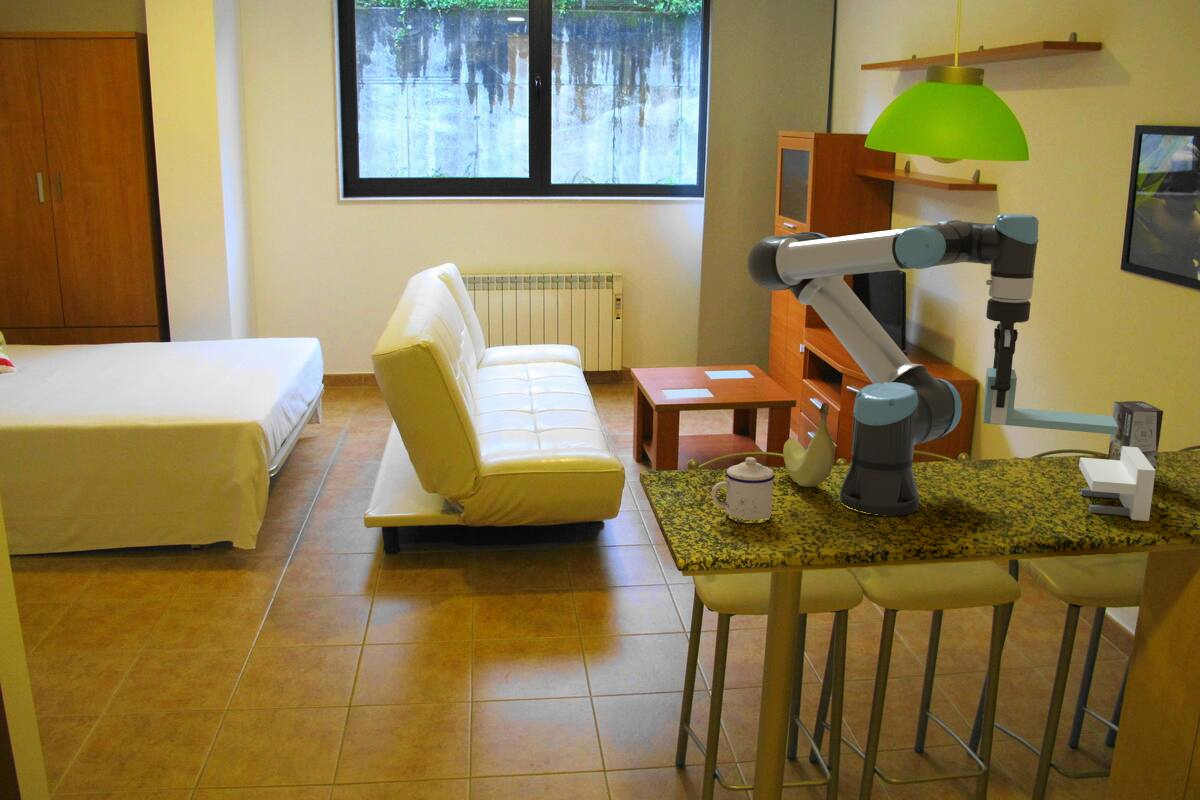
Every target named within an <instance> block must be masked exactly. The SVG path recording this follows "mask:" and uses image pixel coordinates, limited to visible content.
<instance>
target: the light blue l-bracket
mask: <svg viewBox="0 0 1200 800" xmlns="http://www.w3.org/2000/svg"><path fill="white" fill-rule="evenodd" d="M995 379H996V368H993V367H987V368H986V376H985V382H984V383H985V385H984V392H983V393H984V394H983V395H984V396H983V402H982V403H983V404H982V421H983V424H985V425H994V424H993V423H990V419H991V409H992V399H993V390H991V389H990V388H991V386H994V385H995ZM1017 379H1018V378H1017V373H1016V370H1015V369H1012V371H1011V381H1010V385H1011V388H1010V390H1009V397H1008V407H1007V416H1006V425H1004V424H997V425H1001V426H1010V427H1012V426H1013V427H1023V428H1034V429H1047V430H1057V431H1059V430H1060V431H1071V432H1081V433H1091V434H1093V433H1094V434H1105V435H1106V434H1107V435H1111V434H1115V435H1117V433H1118V425H1117V423H1116V422H1115V420H1114V418H1113V415H1108V414H1107V415H1106V414H1105V415H1103V414H1095V413H1092V414H1091V413H1079V412H1069V411H1055V410H1045V409H1031V408H1019V407H1015V398H1016V392H1017V391H1016V389H1017ZM1002 383H1006V382H1002Z"/></svg>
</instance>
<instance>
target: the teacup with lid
mask: <svg viewBox="0 0 1200 800" xmlns="http://www.w3.org/2000/svg"><path fill="white" fill-rule="evenodd" d="M725 476H726V481H720V482H717V483H716V484H714V486H713V487H712V489H711V497H712V501H713V503H715V505H716V506H718V507H720V508H723V509H725V513H726V512H727V513H728V514H729V515H731V516H733V517H737V518H741V519H746V520H760V519H765V518H768V517H769V516H771V514H772V512H773V511H772V510H773V492H774V491H773V489H774V479H775V477H776V476H775V472H774V470H772V469H771V468H770V467H768V466H765V465H763V464H761V463H759V462H757V459H756V458H755V457H752V456H747V457H746V458H745V461H742V462H740V463H739V464H735V465H732V466H729V467H728V468H727V470H726V472H725ZM723 487H726V496H725V497H726V500H725V502H720V501H719V500H718V498H717V492H718V490H719V489H720V488H723ZM772 515H773V514H772ZM771 517H772V516H771Z"/></svg>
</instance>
